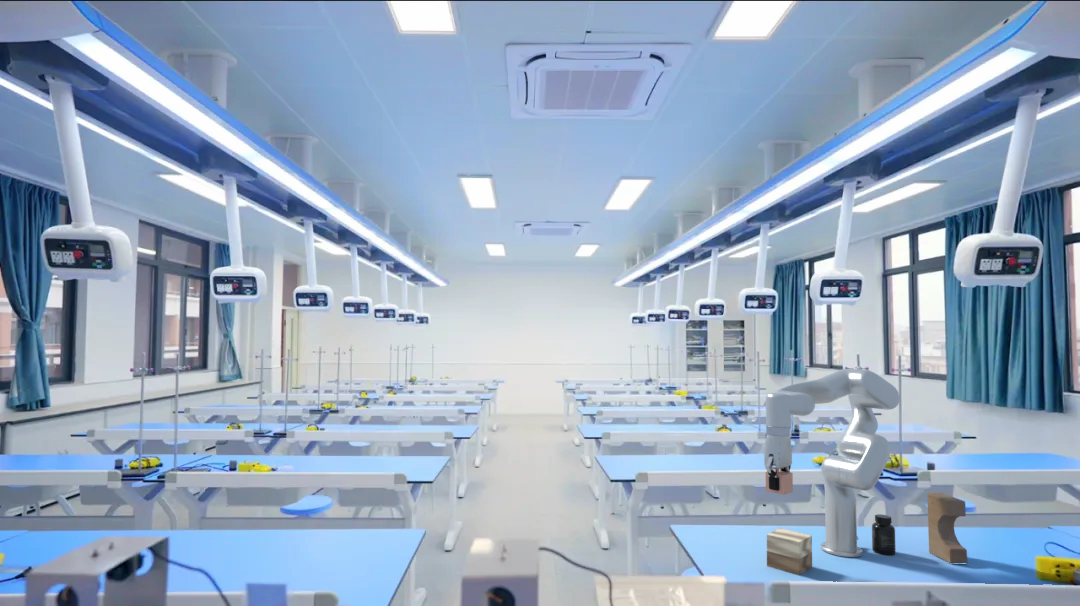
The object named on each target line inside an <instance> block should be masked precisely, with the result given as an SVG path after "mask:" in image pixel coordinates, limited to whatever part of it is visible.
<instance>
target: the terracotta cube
mask: <svg viewBox="0 0 1080 606" xmlns="http://www.w3.org/2000/svg"><path fill="white" fill-rule="evenodd" d="M773 470H774V469H773ZM775 471H776V470H774V472H775ZM778 478H779V491H776V490H771V489H769V476H768V472H767V471H766V472H765V492H769V493H773V494H779V495H783V496H784V495H787V494H788V495H789V494H791V493H793V492H794V488H793V483H794V482H793V480H794V479H793V478H794V477H793V472H785V471H780V470H779V473H778Z"/></svg>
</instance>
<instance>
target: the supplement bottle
mask: <svg viewBox="0 0 1080 606" xmlns="http://www.w3.org/2000/svg"><path fill="white" fill-rule="evenodd" d="M874 521H875V522H873V523H872V525H871V547H872V551H873V553H875V554H877V555H882V556H888V557H889V556H890V557H891V556H895V555H896V553H897V552H896V551H897V550H896V549H897V548H896V528H895V526H894V525H893V524H892V523H893V522H892V516H890V515H886V514H881V513H880V514H879V513H877V514H875V515H874Z"/></svg>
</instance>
